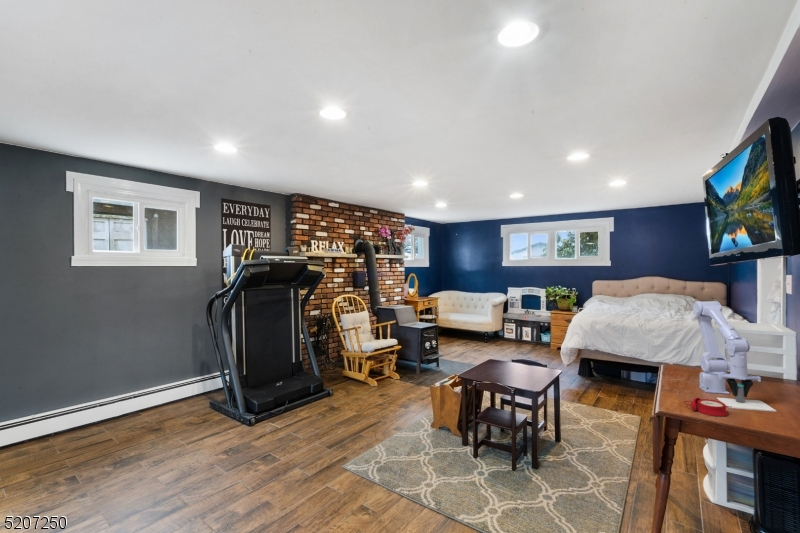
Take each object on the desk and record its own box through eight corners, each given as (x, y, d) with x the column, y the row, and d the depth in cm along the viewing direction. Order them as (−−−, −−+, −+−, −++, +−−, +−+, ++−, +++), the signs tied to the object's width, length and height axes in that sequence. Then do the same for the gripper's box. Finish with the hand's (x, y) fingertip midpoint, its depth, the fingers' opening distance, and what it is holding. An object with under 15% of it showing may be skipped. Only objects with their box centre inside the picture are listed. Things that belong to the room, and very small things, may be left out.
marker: (737, 402, 167) (736, 384, 167) (733, 399, 170) (733, 382, 170) (746, 403, 165) (745, 385, 165) (742, 400, 168) (742, 382, 168)
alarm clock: (728, 411, 151) (684, 394, 162) (724, 425, 152) (680, 407, 163) (733, 404, 158) (690, 388, 169) (729, 417, 159) (686, 401, 170)
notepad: (729, 408, 162) (729, 406, 162) (716, 398, 174) (716, 397, 174) (776, 411, 157) (776, 410, 157) (760, 401, 168) (760, 400, 168)
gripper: (722, 367, 166) (723, 397, 166) (764, 369, 161) (765, 400, 161) (715, 363, 173) (716, 392, 173) (755, 364, 168) (756, 395, 168)
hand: (739, 396), depth 168 cm, fingers closed on marker, 3 cm apart
